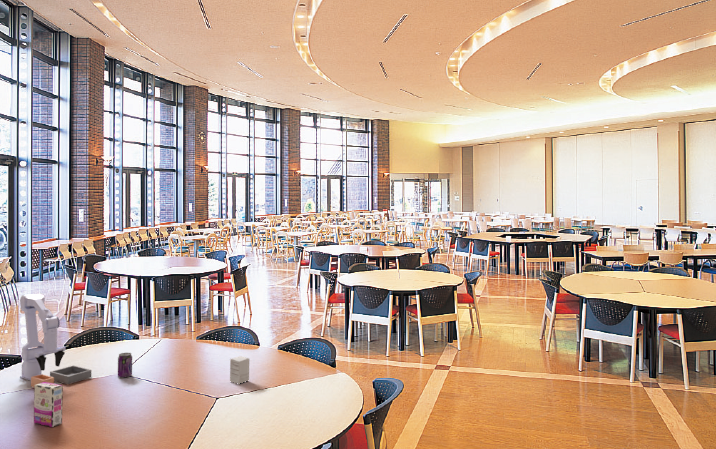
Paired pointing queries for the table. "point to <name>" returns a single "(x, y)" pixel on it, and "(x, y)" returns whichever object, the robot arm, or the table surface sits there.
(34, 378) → the box
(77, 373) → the big crate
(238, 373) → the grey drawer cabinet
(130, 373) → the beverage can
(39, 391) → the candy bar box
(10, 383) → the table surface
